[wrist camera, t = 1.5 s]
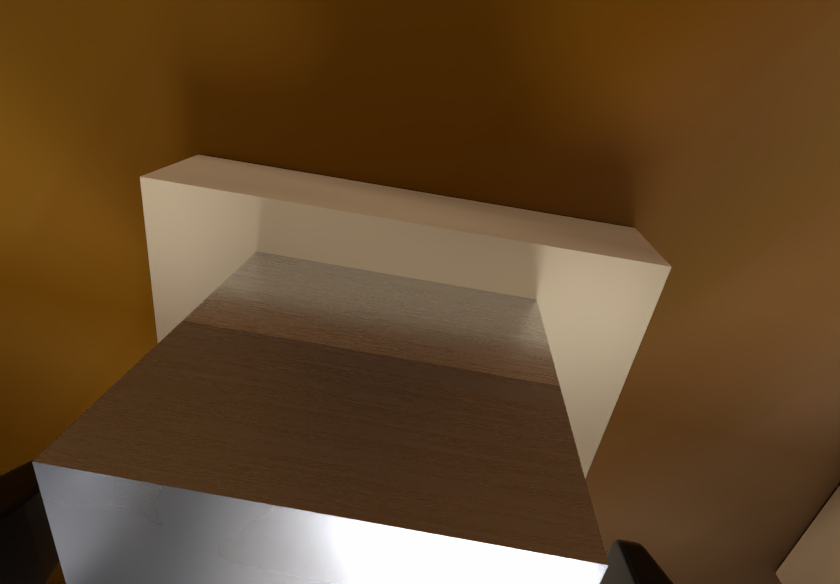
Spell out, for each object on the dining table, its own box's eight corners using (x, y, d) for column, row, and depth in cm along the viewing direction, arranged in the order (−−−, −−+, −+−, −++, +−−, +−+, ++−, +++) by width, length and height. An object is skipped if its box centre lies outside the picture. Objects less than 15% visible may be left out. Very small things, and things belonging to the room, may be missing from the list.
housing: (463, 557, 12) (458, 870, 7) (257, 520, 12) (127, 806, 7) (536, 299, 9) (607, 565, 4) (256, 251, 9) (32, 461, 4)
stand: (527, 528, 14) (536, 598, 12) (215, 472, 14) (178, 533, 12) (635, 227, 10) (671, 267, 8) (198, 154, 10) (139, 176, 8)
